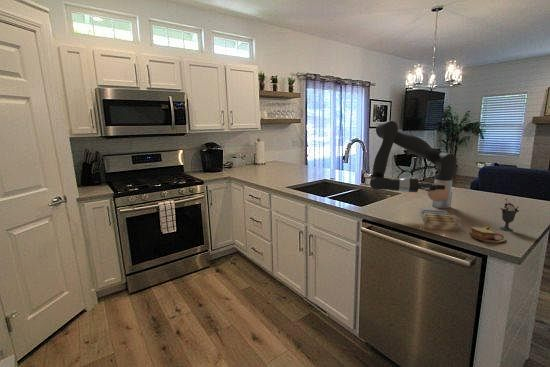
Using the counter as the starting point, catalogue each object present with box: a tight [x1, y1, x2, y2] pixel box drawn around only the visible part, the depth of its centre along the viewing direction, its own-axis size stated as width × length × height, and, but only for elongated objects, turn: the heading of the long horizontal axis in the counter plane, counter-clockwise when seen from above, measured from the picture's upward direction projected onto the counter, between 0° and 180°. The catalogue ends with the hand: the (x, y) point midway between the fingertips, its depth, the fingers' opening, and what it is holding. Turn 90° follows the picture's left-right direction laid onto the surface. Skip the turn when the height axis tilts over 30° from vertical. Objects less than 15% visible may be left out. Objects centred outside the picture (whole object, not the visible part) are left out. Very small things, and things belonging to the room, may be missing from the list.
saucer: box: [426, 182, 449, 202], centre depth 144 cm, size 10×2×10 cm, turn 70°
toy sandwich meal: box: [469, 225, 506, 244], centre depth 121 cm, size 12×14×5 cm
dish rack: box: [421, 213, 458, 232], centre depth 138 cm, size 13×13×4 cm
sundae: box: [499, 198, 520, 232], centre depth 128 cm, size 7×7×15 cm
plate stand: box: [419, 208, 449, 218], centre depth 148 cm, size 12×6×4 cm, turn 70°
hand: (444, 186), depth 142 cm, fingers closed on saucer, 1 cm apart
